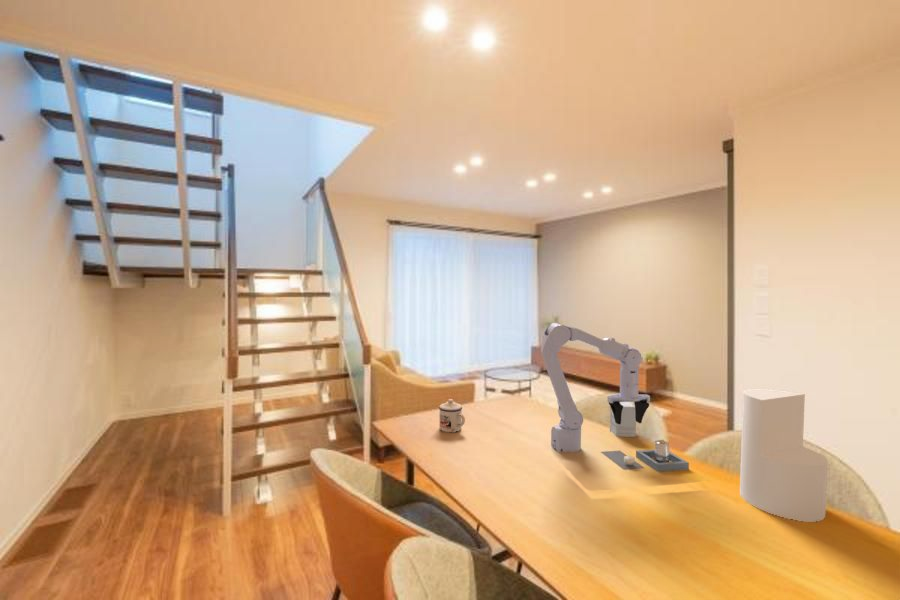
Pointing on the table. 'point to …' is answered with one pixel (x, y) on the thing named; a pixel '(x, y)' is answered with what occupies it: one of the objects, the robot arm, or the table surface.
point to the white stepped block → (780, 457)
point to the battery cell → (661, 451)
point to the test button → (629, 460)
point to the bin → (666, 466)
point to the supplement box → (624, 421)
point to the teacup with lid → (451, 416)
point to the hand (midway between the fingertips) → (628, 422)
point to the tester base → (620, 460)
